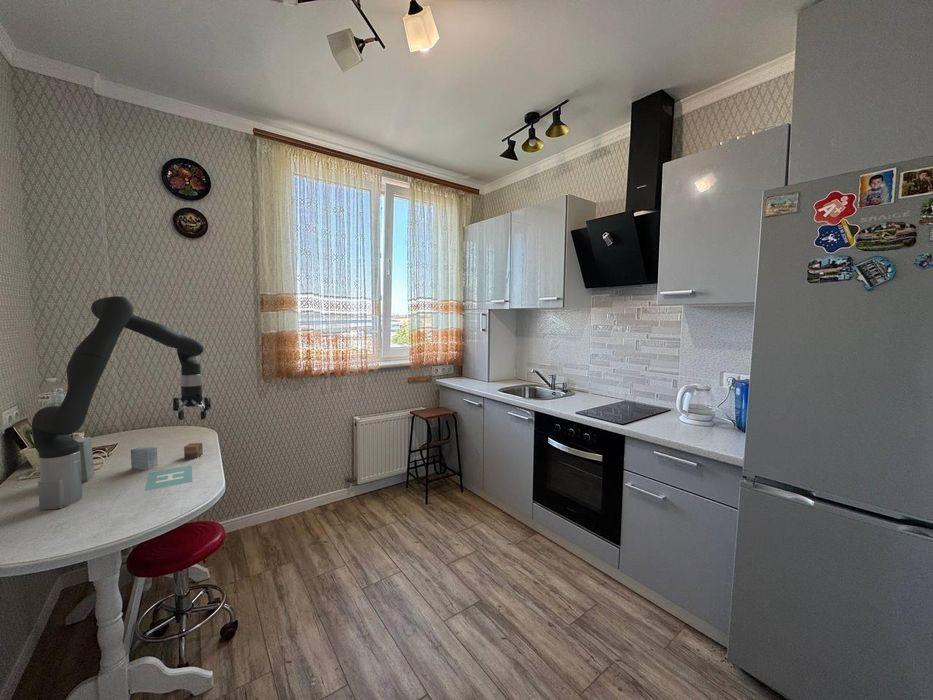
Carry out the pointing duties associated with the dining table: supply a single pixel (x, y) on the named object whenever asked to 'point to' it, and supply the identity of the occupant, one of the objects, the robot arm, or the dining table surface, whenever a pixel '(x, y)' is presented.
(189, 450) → the walnut block
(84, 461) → the skincare box
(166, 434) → the dining table surface
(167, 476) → the letter card
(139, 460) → the medicine box
